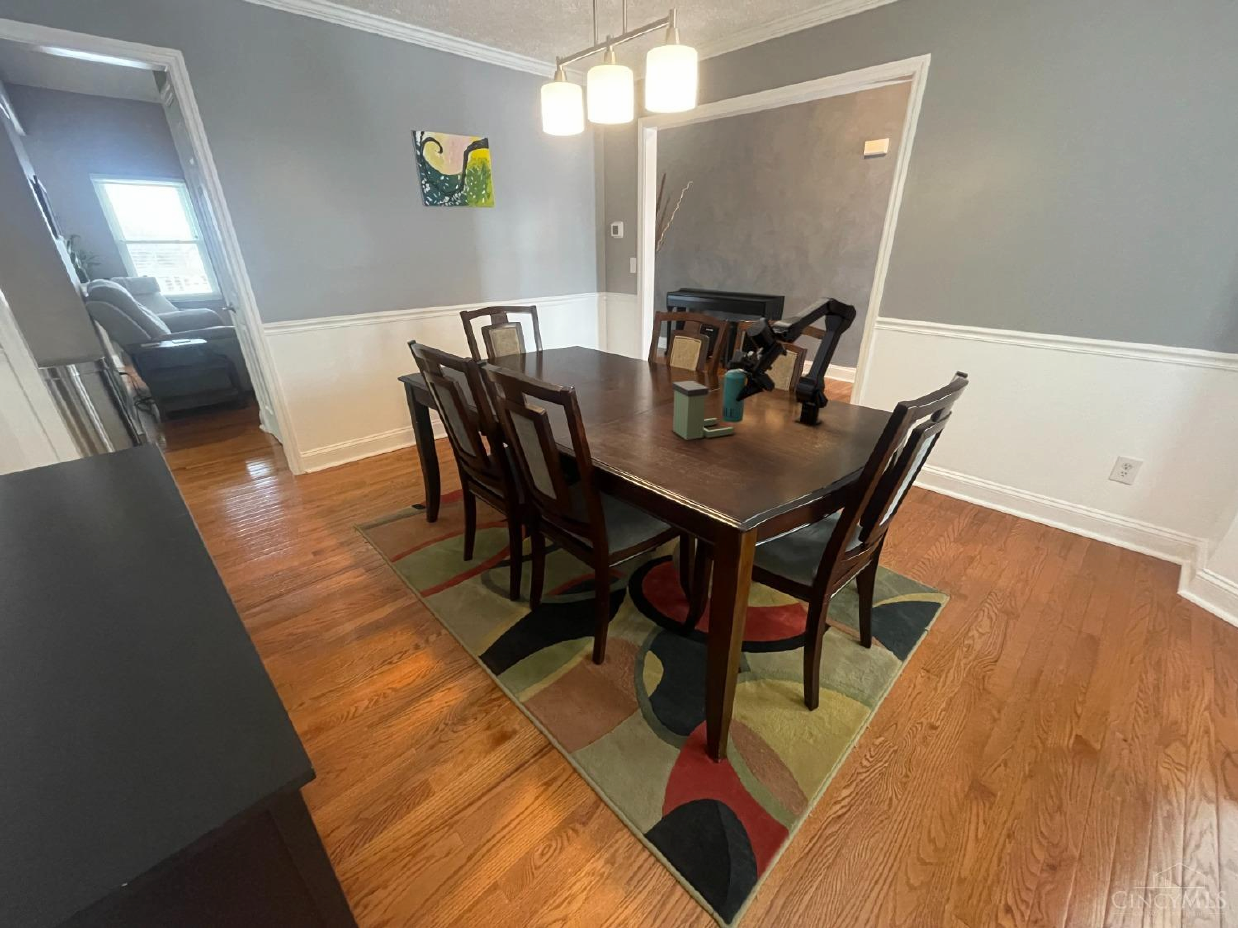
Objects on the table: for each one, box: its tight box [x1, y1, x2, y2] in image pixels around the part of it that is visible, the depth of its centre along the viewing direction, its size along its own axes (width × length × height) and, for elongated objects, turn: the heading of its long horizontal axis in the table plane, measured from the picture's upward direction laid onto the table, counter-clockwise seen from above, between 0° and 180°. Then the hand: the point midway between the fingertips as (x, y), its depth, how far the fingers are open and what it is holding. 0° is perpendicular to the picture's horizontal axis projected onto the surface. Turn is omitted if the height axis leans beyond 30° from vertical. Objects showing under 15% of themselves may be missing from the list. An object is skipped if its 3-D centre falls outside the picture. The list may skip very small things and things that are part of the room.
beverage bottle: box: [721, 358, 747, 424], centre depth 147 cm, size 6×7×20 cm
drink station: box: [672, 380, 735, 441], centre depth 156 cm, size 17×11×16 cm, turn 112°
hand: (730, 398), depth 147 cm, fingers closed on beverage bottle, 6 cm apart
